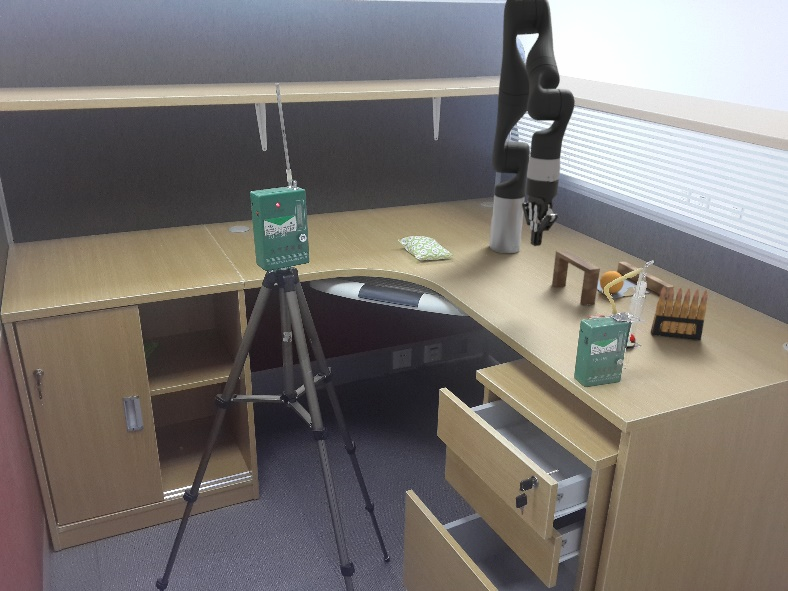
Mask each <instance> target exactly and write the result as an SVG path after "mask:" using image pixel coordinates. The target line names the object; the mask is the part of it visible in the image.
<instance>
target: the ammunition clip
mask: <svg viewBox="0 0 788 591" xmlns="http://www.w3.org/2000/svg"><path fill="white" fill-rule="evenodd" d="M674 290H675V287H674V288H673V287H672V288H671V289H670V291H669V294H668V298H665V295H666V289H665V286H664V287H663V288H662V290H661V293H660V294H659V297H658V300H657V304H656V309H655V313H654V315H653V316H654V317H653V321H652V324H651V330H650V334H651V336H652V337H653V336H655V337H663V338H664V337H665V338H671V339H682V340H692V341H702V336H703V330H704V324H705V316H706V311H707V304H708V303H707V302H708V290H707V289H705V290H704V292H703V294H702V296H701V298H699V297H700V293H699V292H700V291H699V289H696V290H695V292H694V294H693V297H692V300H691V288H687V290H686V292H685V295H684V298H683V289H682V287H680V288H679V289H678V291H677V292H676V297H675V299H674V296H675V291H674ZM682 299H683V301H682ZM699 299H700V301H699ZM690 301H691V304H690ZM699 302H700V303H699Z"/></svg>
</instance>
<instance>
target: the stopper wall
mask: <svg viewBox="0 0 788 591" xmlns="http://www.w3.org/2000/svg"><path fill="white" fill-rule="evenodd" d="M636 269H639V268H638V267H636V266H634V265H633V264H630V263H629V262H626V261H618V264H617V270H616V272H618V273H619V274H620V273H621V274H620V275H622V274H623V275H622V276H624V275H625V274H627V273H629V272H631V271H634V270H636ZM646 273H647V276H646V281H647V289H649V290H650V291H652V292H654V293H656V294H658V295H660V293H661V290H662V288H663V287H664V286H665V289H666V295H665V299H667V298H668V294H669V291H670V289H671V288H672V287H673V288H674V289H675V286H674V285H672V284H670V283H668V282H667V281H664V280H662V279H660V278H658V277H657V276H654V275H652V274H650V273H649V272H646ZM638 278H639V274H637V275H636V276H634V277H632V278H630V280H631V281H633V282H635V283H637V281H638Z"/></svg>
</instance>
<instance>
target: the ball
mask: <svg viewBox="0 0 788 591" xmlns="http://www.w3.org/2000/svg"><path fill="white" fill-rule="evenodd" d="M619 277H623V275H622V274H620V273H618V272H617V271H616V270H615V271H614V270H610V271H609V270H608V271H606V272H604V273H603V274H602V275H601V277H600V278H599V280H600V286H601V288H602V289H603V290H604V287H605V286H606V285H607V284H608V283H610V282H612V281H613V280H615V279H617V278H619ZM623 284H624V280H623V281H621V282H619V283H617V284H615V285H613V286H612V287H610V288H609V293H610V294H614V293H617V292H619V291H620V290H621V289H622V287H623Z"/></svg>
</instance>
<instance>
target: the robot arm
mask: <svg viewBox="0 0 788 591" xmlns="http://www.w3.org/2000/svg"><path fill="white" fill-rule="evenodd" d="M552 24H553V23H552V13H551V8H550V2H549V0H506V1H505V3H504V9H503V27H502V29H503V31H502V58H501V66H500V67H501V68H500V75H499V76H500V77H499V83H498V84H499V85H498V87H499V88H498V96H497V112H496V113H497V114H496V116H497V119H496V126H495V134H494V141H493V148H492V155H491V156H492V157H491V167H492V170H493V171H494V172H495V173H499V174H516V175H515V176H513V177H512V178H511V179H508V180H505V181H503V182H500V183H498V184H496V185H495V187H494V192H493V193H494V194H493V195H494V196H493V206H492V217H491V218H490V219H491V221H490V234H489V246H490V247H489V248H490V250H491V251H493V252H496V253H499V254H515V253H519V252H520V250H521V239H522V231H523V230H522V229H523V221H524V218H525V222H526V225H527V226H529V228H530V230H531V232H530V245H532V246H534V247H537V246H538V247H539V246H541V245H542V241H543V234H544V233H543V232H547V231H548V232H549V230H551V228H552V226H553V225H554V224H555V223H556V221H557V220H558V217H559V216H558V213H554V211H553V208H554V207H553V205H554V204H553V200H554V199H555V198H557V195H558V190H559V181H560V174H561V152H562V146H563V141H564V136H565V133H566V130H567V127H568V125H569V123H570V120H571V117H572V116H573V112H574V109H575V104H576V103H575V102H576V101H575V96H574V94H573V93H572V91H571V90H570V89H566V88H558V87H559V86H560V85H559V84H560V82H561V81H560V80H561V77H560V73H559V69H558V65H557V64H558V63H557V62H556V57H555V56H556V55H555V52H554V38H553V35H554V34H553V25H552ZM534 34H535V35H538V36H537V37H536V40H535V42H534V43H533V45H532V46H531V48H530V49H529V52H528V53H527V56H526V60H525V61H524V59H523V57H522V55H521V53H520V50H519V48H518V44H517V37H518V36H520V35H521V36H522V35H524V36H525V35H534ZM526 113H527V114H528V116H529V117H530V118H531V119H532V120H534V121H537V122H538V121H539V122H540V121H545V122H546V121H551V122H552V124H551V125H550V126H549V127H548V128H545V129H541V130H537V131H535V132H534V133H533V134H532V136H531V141H530V142H531V144H530V145H529V143H528V142H524V141H507V139H508V136H509V134H510V132H512V130H513V129H514V127H515V126H516V125H517V123H518V122H519V121H520V120H522V118H523V117H524V116H525V115H526ZM526 196H528V198H527V202H525V197H526Z"/></svg>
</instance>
